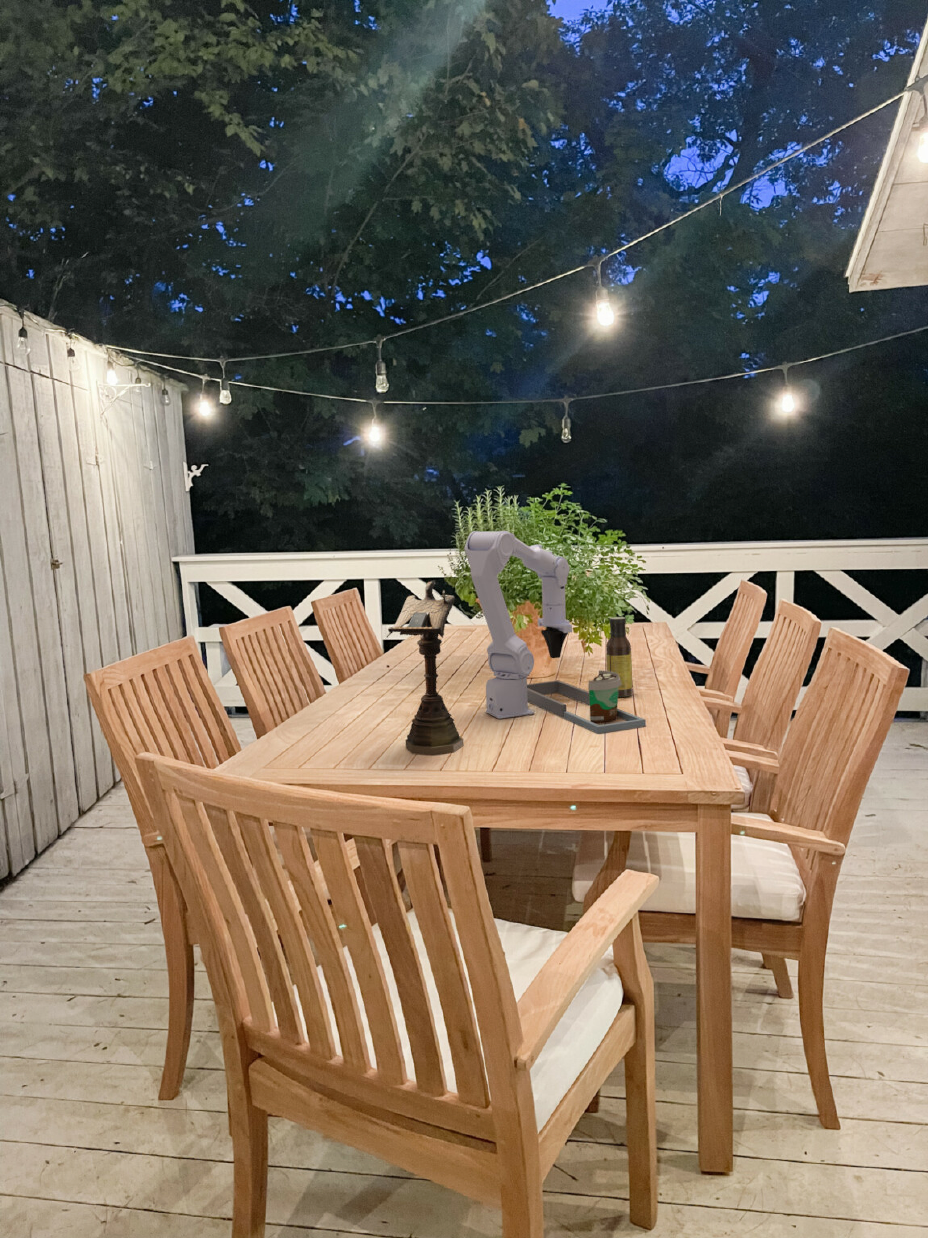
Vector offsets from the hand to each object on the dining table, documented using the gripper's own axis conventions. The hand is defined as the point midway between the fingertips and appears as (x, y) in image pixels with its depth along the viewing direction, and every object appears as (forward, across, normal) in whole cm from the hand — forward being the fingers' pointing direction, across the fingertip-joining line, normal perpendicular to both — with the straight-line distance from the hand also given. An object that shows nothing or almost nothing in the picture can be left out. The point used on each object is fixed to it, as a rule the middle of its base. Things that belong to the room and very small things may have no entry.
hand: (555, 657), depth 209 cm
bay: (+10, -25, +2) cm, 27 cm away
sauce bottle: (+11, -6, -15) cm, 19 cm away
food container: (+11, -24, 0) cm, 26 cm away
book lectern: (+11, -27, +43) cm, 52 cm away
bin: (+10, -6, +2) cm, 12 cm away
